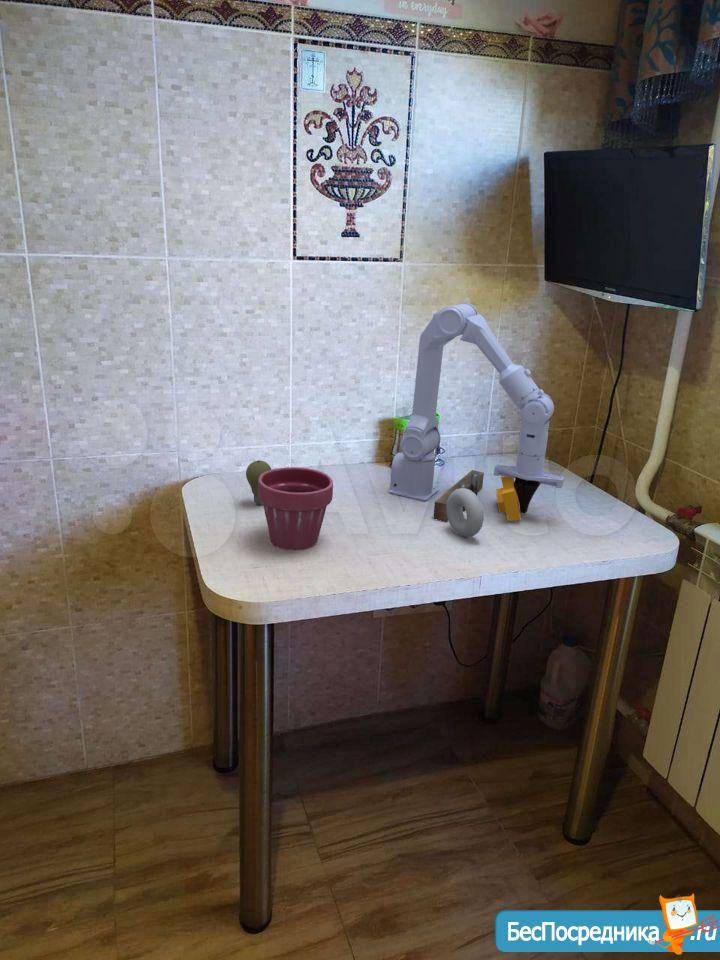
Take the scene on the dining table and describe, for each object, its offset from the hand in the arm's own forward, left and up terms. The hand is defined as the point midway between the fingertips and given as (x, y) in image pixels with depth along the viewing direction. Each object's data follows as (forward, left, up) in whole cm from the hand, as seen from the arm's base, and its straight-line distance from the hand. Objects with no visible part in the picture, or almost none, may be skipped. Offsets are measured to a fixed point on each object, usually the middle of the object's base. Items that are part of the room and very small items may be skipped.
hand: (523, 511), depth 155 cm
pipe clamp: (-3, 0, -1) cm, 3 cm away
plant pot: (-35, -37, -2) cm, 51 cm away
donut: (-8, -16, -2) cm, 18 cm away
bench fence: (-15, 0, -1) cm, 15 cm away
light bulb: (-51, -26, -1) cm, 57 cm away
